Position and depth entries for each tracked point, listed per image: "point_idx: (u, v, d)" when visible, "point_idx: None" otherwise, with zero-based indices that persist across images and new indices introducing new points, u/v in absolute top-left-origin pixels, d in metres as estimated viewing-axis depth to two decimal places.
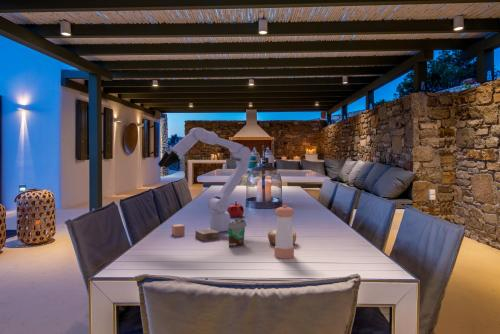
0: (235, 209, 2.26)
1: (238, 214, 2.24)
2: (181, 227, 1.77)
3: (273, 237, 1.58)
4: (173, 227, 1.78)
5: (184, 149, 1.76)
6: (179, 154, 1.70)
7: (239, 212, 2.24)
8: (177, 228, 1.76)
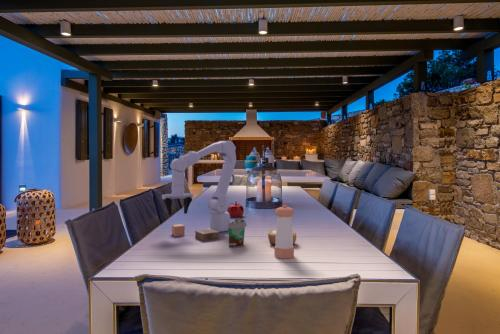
0: (235, 209, 2.26)
1: (238, 214, 2.24)
2: (181, 227, 1.77)
3: (273, 237, 1.58)
4: (173, 227, 1.78)
5: (173, 187, 1.76)
6: (162, 197, 1.74)
7: (239, 212, 2.24)
8: (177, 228, 1.76)
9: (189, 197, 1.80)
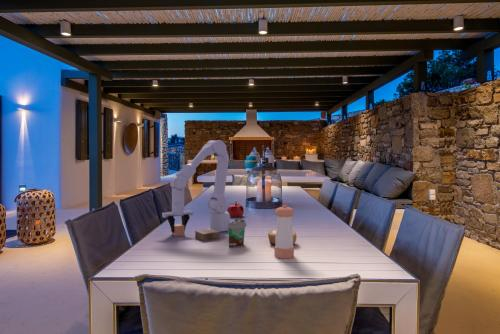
0: (235, 209, 2.26)
1: (238, 214, 2.24)
2: (181, 227, 1.77)
3: (273, 237, 1.58)
4: None
5: (173, 205, 1.76)
6: (162, 215, 1.75)
7: (239, 212, 2.24)
8: (177, 228, 1.76)
9: (189, 214, 1.80)
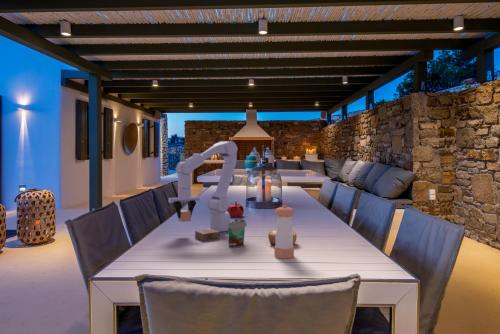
0: (235, 209, 2.26)
1: (238, 214, 2.24)
2: (187, 212, 1.75)
3: (273, 237, 1.58)
4: None
5: (179, 191, 1.74)
6: (169, 201, 1.73)
7: (239, 212, 2.24)
8: (183, 213, 1.75)
9: (196, 200, 1.79)
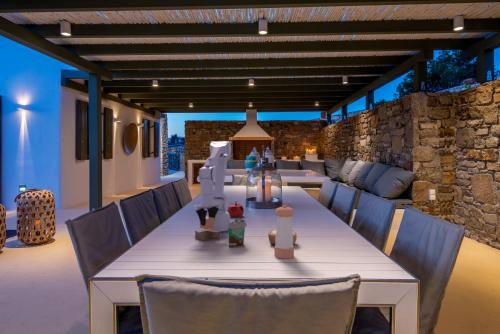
0: (235, 209, 2.26)
1: (238, 214, 2.24)
2: (211, 219, 1.71)
3: (273, 237, 1.58)
4: None
5: (204, 197, 1.69)
6: (194, 208, 1.66)
7: (239, 212, 2.24)
8: (208, 220, 1.69)
9: (217, 206, 1.75)
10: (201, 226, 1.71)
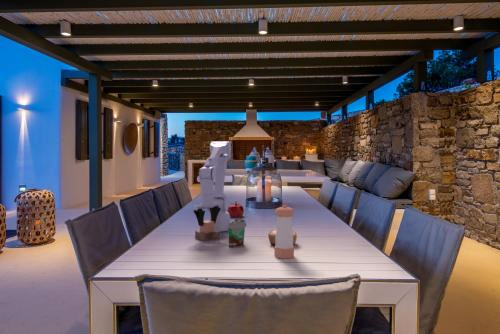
0: (235, 209, 2.26)
1: (238, 214, 2.24)
2: (211, 223, 1.71)
3: (273, 237, 1.58)
4: (203, 224, 1.70)
5: (204, 197, 1.69)
6: (194, 208, 1.66)
7: (239, 212, 2.24)
8: (208, 224, 1.69)
9: (217, 206, 1.75)
10: (201, 230, 1.71)
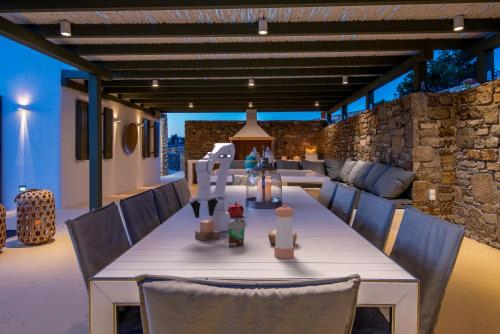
0: (235, 209, 2.26)
1: (238, 214, 2.24)
2: (212, 223, 1.71)
3: (273, 237, 1.58)
4: (203, 223, 1.70)
5: (200, 189, 1.71)
6: (190, 200, 1.68)
7: (239, 212, 2.24)
8: (209, 224, 1.69)
9: (214, 199, 1.76)
10: (201, 230, 1.71)
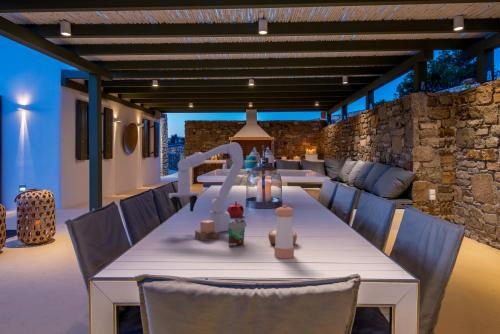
0: (235, 209, 2.26)
1: (238, 214, 2.24)
2: (212, 223, 1.71)
3: (274, 237, 1.58)
4: (204, 223, 1.70)
5: (179, 186, 1.84)
6: (169, 196, 1.82)
7: (239, 212, 2.24)
8: (209, 224, 1.70)
9: (195, 195, 1.88)
10: (202, 230, 1.71)
